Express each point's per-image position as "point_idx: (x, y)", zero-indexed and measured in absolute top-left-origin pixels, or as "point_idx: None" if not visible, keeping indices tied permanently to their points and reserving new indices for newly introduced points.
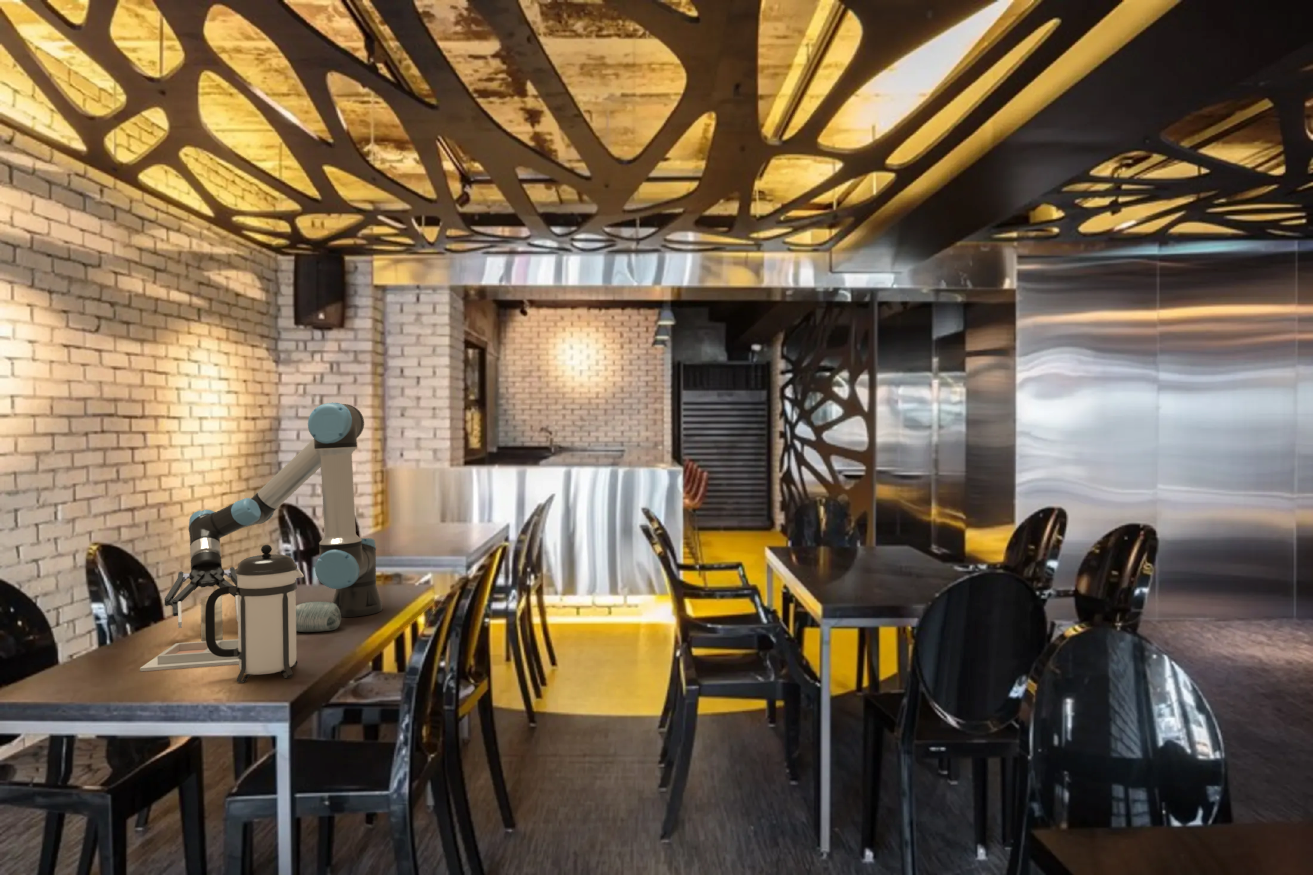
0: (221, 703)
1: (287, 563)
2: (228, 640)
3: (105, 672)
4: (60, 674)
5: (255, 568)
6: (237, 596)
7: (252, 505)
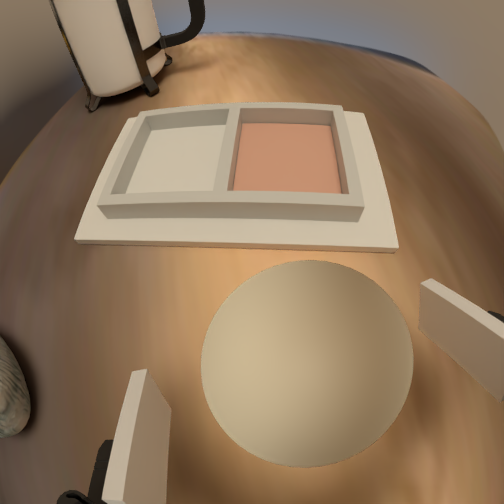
0: None
1: None
2: (187, 194)
3: (427, 137)
4: (491, 158)
5: None
6: (111, 489)
7: None
